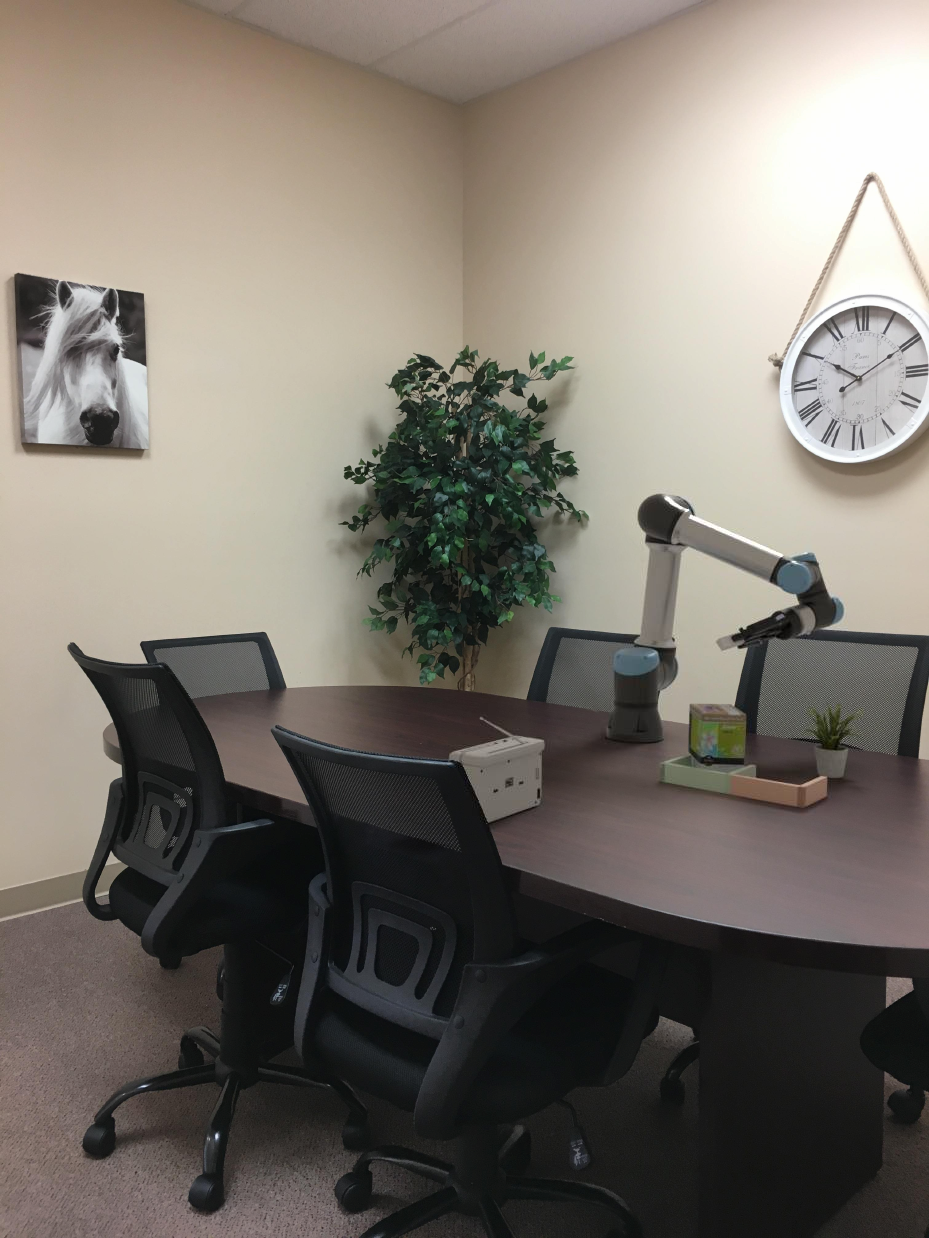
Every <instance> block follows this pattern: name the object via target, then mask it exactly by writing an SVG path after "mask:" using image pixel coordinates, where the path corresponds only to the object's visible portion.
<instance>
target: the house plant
mask: <svg viewBox="0 0 929 1238" xmlns="http://www.w3.org/2000/svg"><path fill="white" fill-rule="evenodd" d="M826 705H827V712H828V718H829V719H828V720H829V722H827V717H826V714H825V713H823V714H822V717H821V715H820V714H819V712H818V711H816V710H815V709H814V708H812V707H810V706H808V709H810V711H812V713H813V715H814V717H815V718H814V717H813V716H812V715H811V714H809V713H808V712H806V714H807V715H808V716H809V717H810V718H811V720H812V721H813V722H814V723H815V725H817V729H816V730H813V729H809V728H808V729H804V730H803V732H810V733H812V734H814V735H815V737H817V738H818V740H819V742H820V744H815V745H814V747H813V749H814V753H815V754H814V755H815V761H816V769H817V775H818V776H819V777H820V776H824V777H827V778H831V779H840V778H843V777H844V773H845V768H846V763H847V759H848V754H849V747H846V746H844V745H843V744H844V743H845V741H844V742H841V741H842V739H844V737H847V736H850V735H851V737H853V736H856V737H858V738H859V739H860V738H861V739H862V737H861V736H860V735H858V734H864V733H862V732H858V733H854V732H851V731H852V729H856V728H857V726H856V727H855V726H853V727H849V728H848V729H846V727H847V726H848V724H849V723H850V722H854V721H855V722H856V721H857V722H858V721H859V720H858V719H854V718H857V717H860V716H861V713H864V712H865V710H861V711H858V712H854V713H852V714H851V715H849V716H848V717H847V718H845V719H844V720H842V721H840V719H841V710H842V708H841V704H840V703H838V704H837V707H836V710H835V711H834V713H832V710H831V706H830V705H829V703H828V702H826ZM828 723H829V726H828ZM838 726H839V727H838ZM849 739H850V737H848V738H847V739H846V741H847V740H849ZM840 742H841V744H840ZM839 744H840V745H839Z"/></svg>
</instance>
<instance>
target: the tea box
mask: <svg viewBox="0 0 929 1238" xmlns="http://www.w3.org/2000/svg"><path fill="white" fill-rule="evenodd" d="M688 713H689V714H688V715H689V716H688V745H687V747H688V748H687V749H688V750H687V754H688V755H692V767H695V768H701V769H706V770H712V771H718V772H724V773H730V772H732V771H735V770H738V769H740V768H743V767H745V764H746V761H745V758H746V737H747V736H746V732H747V731H746V730H747V714H746V713H745V712H743V711H742V710H740V709H739V708H737V707H736V706H734V705H732V704H729V703H728V704H727V703H689V711H688Z"/></svg>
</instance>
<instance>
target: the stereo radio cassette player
mask: <svg viewBox="0 0 929 1238" xmlns="http://www.w3.org/2000/svg"><path fill="white" fill-rule="evenodd" d="M479 720H481V721H484V722H486V723H487V724H489V726H492V728H494V729H497V730H499V731H500V732H501V733H503V734H505V735H506V736H508V737H507V738H502V739H497V740H494V741H489V742H485V743H482V744H478V745H474V746H470V747H466V748H462V749H460V750H459V749H458V750H454V751H452V752H450V753H449V756H448V761H449V760H454V761H458V762H460V763H461V764H462V765H463V767H464V769H465V771H466V774H467V776H468V779H469V781H470V783H471V785H472V787H473V789H474V791H475V794H476V796H477V798H478V800H479V803H480V805H481V807H482V809H483V812H484V814H485V817H486V818H487V821H488V823H492V822H494V821H497V820H500V819H503V818H506V817H508V816H511V815H514V814H517V813H519V812H523V811H525V810H527V809H531V808H533V807H537V806H539V805H540V803H541V798H542V751H544V750H545V746H546V745H545V740H544V739H539V738H534V737H526V736H519V735H513V734H512V733H510V732H508V731H506V730H504V729H503V728H501V727H500V726H497V725H496V724H493V723H491V722H490V721H488V720H486V719H484V718H483V717H482V716H480V717H479ZM488 823H487V824H488Z"/></svg>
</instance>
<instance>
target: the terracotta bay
mask: <svg viewBox="0 0 929 1238" xmlns="http://www.w3.org/2000/svg"><path fill="white" fill-rule="evenodd" d="M827 792H828V777H824V776H820V775H819V777H816V778H814V779H811V780H810V781H807V782H805V783H803V784H794V783H787V782H782V781H781V782H780V781H775V780H770V779H764V778H757V777H756V778H753V777H747V776H742V775H736V774H732V775H731V777H730V794H729V795H730V796H731V795H732V796H736V797H743V798H748V799H752V800H756V801H757V800H759V801H762V802H768V803H769V802H770V803H773V804H779V805H785V806H789V807H791V806H792V807H796V808H799V809H800V808H801V809H804V808H806V807H808V806H809V805H813V804H814V803H816V802H818V801H821V800H823V799H825V798H826V797H827V796H828V793H827Z"/></svg>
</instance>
